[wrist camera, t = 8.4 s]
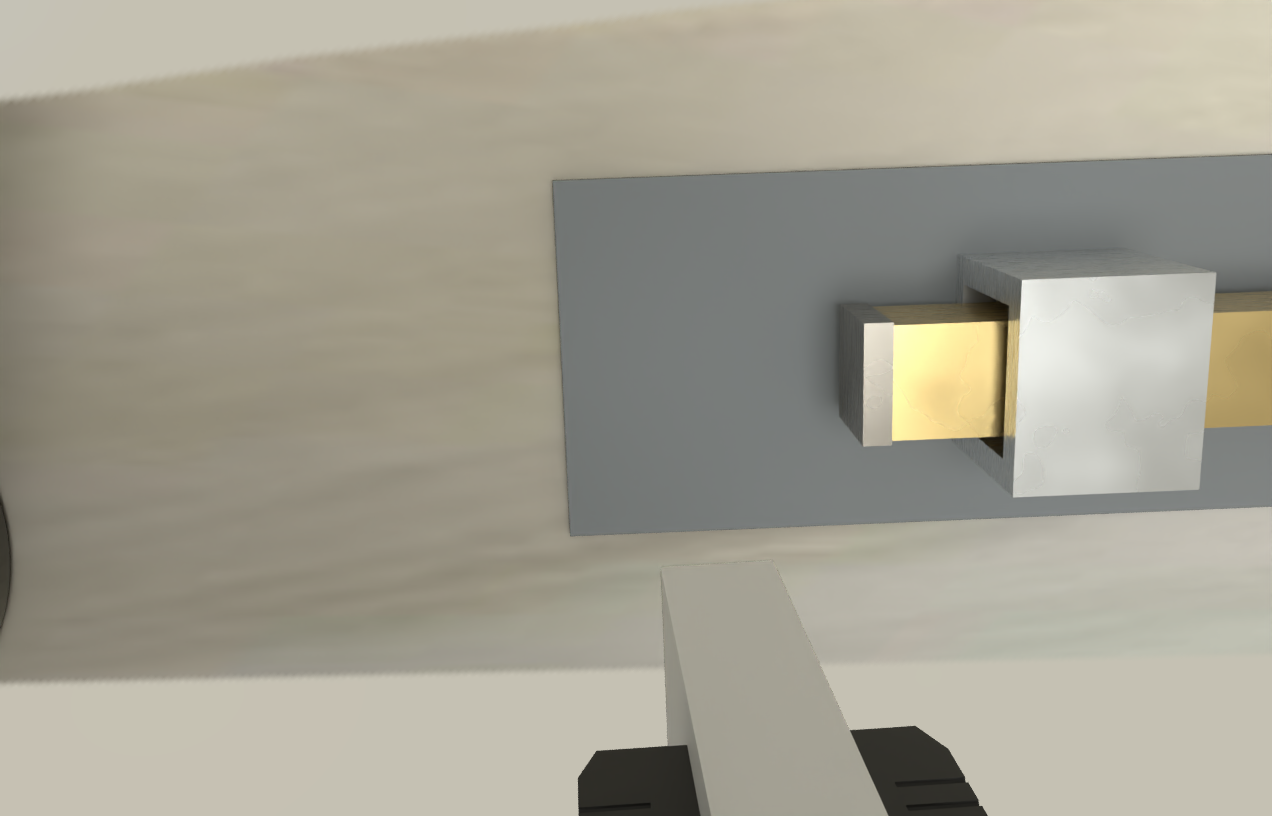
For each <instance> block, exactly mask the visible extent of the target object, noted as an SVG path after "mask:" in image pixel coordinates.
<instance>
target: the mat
mask: <svg viewBox="0 0 1272 816" xmlns="http://www.w3.org/2000/svg"><path fill="white" fill-rule="evenodd" d="M553 198H554V218H555V238H556V258H557V278H558V298H559V318H560V338H561V359H562V379H563V399H564V419H565V439H566V459H567V479H568V499H569V519H570V536H591V535H614V534H638V533H662V532H685V531H709V530H732V529H756V528H779V527H803V526H826V525H850V524H874V523H897V522H921V521H944V520H968V519H991V518H1015V517H1039V516H1062V515H1086V514H1109V513H1133V512H1156V511H1180V510H1203V509H1227V508H1251V507H1272V425H1267V426H1243V427H1218V428H1204V436H1203V448H1202V461H1201V473H1200V486H1199V490H1179V491H1155V492H1131V493H1108V494H1084V495H1060V496H1036V497H1012V496H1011V495H1010V494H1009V493H1007V492H1006V491H1005V490H1004V489H1003V488H1002V487H1001V486H1000V485H999V484H998V483H997V482H996V481H995V480H994V479H992V478H991V477H990V476H989V475H988V474H987V473H986V472H985V471H984V470H983V469H982V468H981V467H980V466H978V465H977V464H976V463H975V462H974V461H973V460H972V459H971V458H970V457H969V456H968V455H967V454H966V453H965V452H963V451H962V450H961V449H960V448H959V447H958V446H957V445H956V444H955V443H954V442H953V441H952V438H950V439H926V440H901V441H892V445H890V446H866V447H863V446H862V445H861V444H860V442H859V441H858V440H857V439H856V437H855V436H854V435H853V433H852V432H851V431H850V430H849V428H848V427H847V426H846V425H845V423H844V422H843V421H842V420H841V418H840V417H839V318H840V304H853V303H867V304H869V305H870V306H872V307H877V306H903V305H929V304H954V303H956V289H957V255H958V254H982V253H1008V252H1035V251H1061V250H1087V249H1114V248H1124V249H1128V250H1132V251H1136V252H1139V253H1143V254H1147V255H1151V256H1155V257H1159V258H1163V259H1167V260H1170V261H1174V262H1178V263H1182V264H1186V265H1190V266H1194V267H1197V268H1201V269H1205V270H1209V271H1213V272H1217V273H1216V285H1215V293H1238V292H1264V291H1272V154H1264V155H1237V156H1209V157H1182V158H1154V159H1127V160H1099V161H1072V162H1044V163H1017V164H989V165H962V166H934V167H907V168H879V169H852V170H824V171H797V172H769V173H742V174H714V175H687V176H659V177H632V178H604V179H577V180H553Z"/></svg>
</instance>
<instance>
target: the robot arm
mask: <svg viewBox="0 0 1272 816" xmlns="http://www.w3.org/2000/svg"><path fill="white" fill-rule="evenodd" d="M9 580H10V555H9V542H8V536H7V529H6V524H5V519H4V515H3V511H2V507H1V504H0V627H1V624H2V621H3V617H4V613H5V609H6V604H7V598H8V591H9ZM661 590H662V614H663V639H664V663H665V687H666V712H667V737H668V746H662V747H648V748H633V749H618V750H603V751H596V752H595V754H594V755H593V757H592V758H591V760H590V761H589V763H588V764H587V766H586V767H585V769H584V770H583V771H582V773H581V775H580V776H579V777H578V805H579V806H578V807H579V816H987V814H986V812H985V810H984V809H983V807H982V806H979V802H978V799H977V797H976V795H975V793H974V792H973V790H972V788H971V787H970V785H969V783H966V782H965V776H964V775H963V773H962V771H961V770H960V768H959V766H958V765H957V763H956V761H955V760H954V758H953V756H952V755H951V753H950V751H949V750H948V748H946V747H945V746H943V745H941V744H940V743H939V742H938V741H936V740H935V739H933V738H932V737H930V736H929V735H928V734H926V733H925V732H923V731H922V730H920V729H919V728H917V727H916V726H908V727H893V728H880V729H879V728H878V729H864V730H849V728H848V725H847V723H846V721H845V719H844V717H843V714H842V712H841V710H840V708H839V705H838V703H837V701H836V699H835V697H834V695H833V692H832V690H831V688H830V686H829V683H828V681H827V679H826V677H825V675H824V672H823V670H822V668H821V666H820V663H819V661H818V659H817V657H816V655H815V652H814V650H813V648H812V646H811V643H810V641H809V639H808V637H807V635H806V632H805V630H804V628H803V626H802V624H801V621H800V619H799V617H798V615H797V612H796V610H795V608H794V606H793V604H792V601H791V599H790V597H789V595H788V593H787V590H786V588H785V586H784V584H783V582H782V579H781V577H780V575H779V573H778V570H777V568H776V566H775V564H774V562H773V560H765V561H748V562H732V563H716V564H699V565H683V566H667V567H661Z"/></svg>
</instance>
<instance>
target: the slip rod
mask: <svg viewBox="0 0 1272 816" xmlns="http://www.w3.org/2000/svg"><path fill="white" fill-rule="evenodd" d="M1008 320H1009V305H1007V304H1005V303H1002V302H980V303H954V304H929V305H903V306H877V307H872V306H870V305H869V304H867V303H853V304H840V318H839V417H840V418H841V420H842V421H843V422H844V423H845V425H846V426H847V427H848V428H849V430H850V431H851V432H852V433H853V435H854V436H855V437H856V439H857V440H858V441H859V442H860V444H861V445H862V446H863V447H866V446H890V445H892V441H901V440H926V439H950V438H974V437H999V436H1004V422H1005V396H1006V371H1007V345H1008ZM1267 425H1272V291H1264V292H1238V293H1215V298H1214V310H1213V323H1212V335H1211V348H1210V361H1209V373H1208V386H1207V398H1206V411H1205V423H1204V428H1218V427H1243V426H1267Z"/></svg>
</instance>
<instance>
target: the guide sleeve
mask: <svg viewBox="0 0 1272 816" xmlns="http://www.w3.org/2000/svg"><path fill="white" fill-rule="evenodd" d="M1216 273H1217V272H1213V271H1209V270H1205V269H1201V268H1197V267H1194V266H1190V265H1186V264H1182V263H1178V262H1174V261H1170V260H1167V259H1163V258H1159V257H1155V256H1151V255H1147V254H1143V253H1139V252H1136V251H1132V250H1128V249H1124V248H1114V249H1087V250H1061V251H1035V252H1008V253H982V254H958V255H957V289H956V303H980V302H1002V303H1005V304H1007V305H1009V320H1008V345H1007V371H1006V396H1005V422H1004V436H999V437H974V438H952V441H953V442H954V443H955V444H956V445H957V446H958V447H959V448H960V449H961V450H962V451H963V452H965V453H966V454H967V455H968V456H969V457H970V458H971V459H972V460H973V461H974V462H975V463H976V464H977V465H978V466H980V467H981V468H982V469H983V470H984V471H985V472H986V473H987V474H988V475H989V476H990V477H991V478H992V479H994V480H995V481H996V482H997V483H998V484H999V485H1000V486H1001V487H1002V488H1003V489H1004V490H1005V491H1006V492H1007V493H1009V494H1010V495H1011V496H1012V497H1036V496H1060V495H1084V494H1108V493H1131V492H1155V491H1179V490H1199V486H1200V473H1201V461H1202V448H1203V436H1204V423H1205V411H1206V398H1207V386H1208V373H1209V361H1210V348H1211V335H1212V323H1213V310H1214V298H1215V285H1216Z"/></svg>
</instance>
